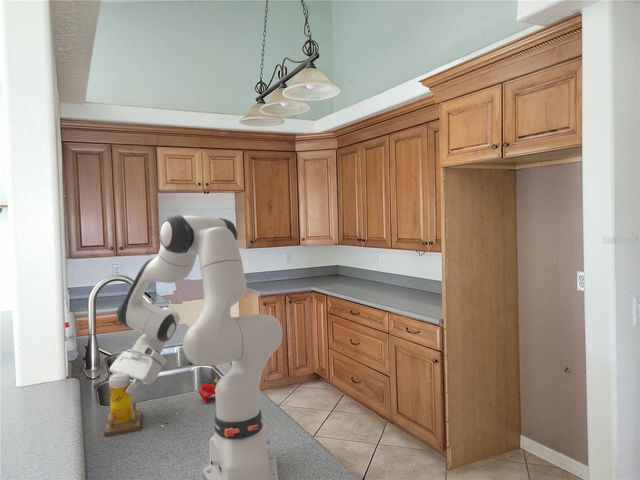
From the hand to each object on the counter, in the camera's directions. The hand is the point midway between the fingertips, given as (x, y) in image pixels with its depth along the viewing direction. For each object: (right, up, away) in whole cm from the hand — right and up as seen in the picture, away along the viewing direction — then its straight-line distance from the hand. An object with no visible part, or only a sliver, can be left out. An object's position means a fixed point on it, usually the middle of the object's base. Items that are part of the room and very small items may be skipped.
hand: (119, 391), depth 150 cm
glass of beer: (0, -10, +1) cm, 10 cm away
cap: (+24, -10, +19) cm, 32 cm away
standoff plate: (+1, -11, +1) cm, 11 cm away
